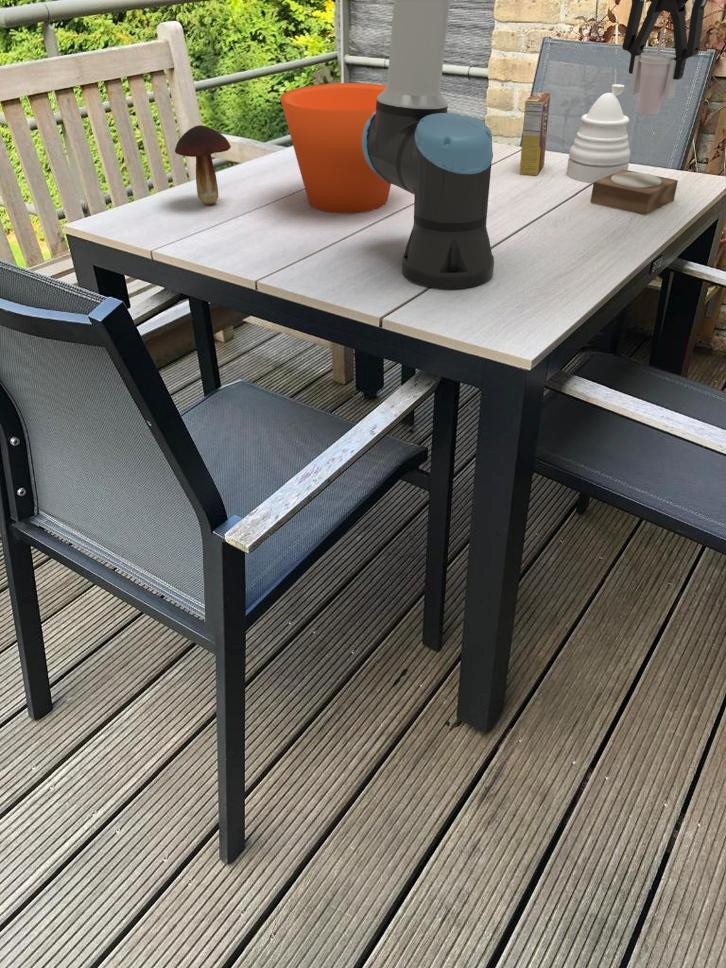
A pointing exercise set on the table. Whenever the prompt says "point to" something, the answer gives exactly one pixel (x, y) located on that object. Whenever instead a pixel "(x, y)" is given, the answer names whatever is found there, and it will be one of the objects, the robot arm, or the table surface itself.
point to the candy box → (534, 133)
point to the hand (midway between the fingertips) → (651, 95)
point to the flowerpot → (335, 145)
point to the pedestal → (634, 191)
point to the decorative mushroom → (203, 158)
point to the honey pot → (600, 141)
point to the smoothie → (653, 79)
